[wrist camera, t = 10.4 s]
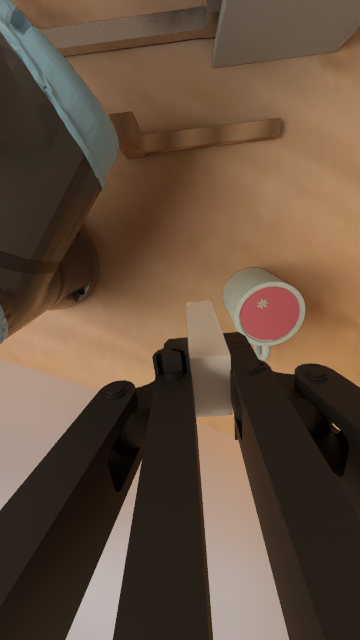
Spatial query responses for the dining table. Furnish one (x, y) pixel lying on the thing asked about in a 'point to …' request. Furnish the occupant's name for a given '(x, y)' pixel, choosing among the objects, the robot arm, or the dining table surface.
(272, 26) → the shelf cubby
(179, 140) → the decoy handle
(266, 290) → the mug
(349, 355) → the dining table surface
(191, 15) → the wood-tipped metal rod
